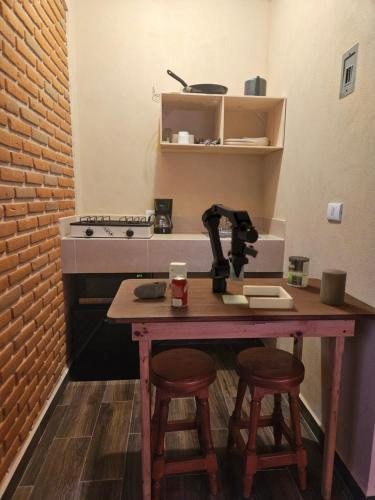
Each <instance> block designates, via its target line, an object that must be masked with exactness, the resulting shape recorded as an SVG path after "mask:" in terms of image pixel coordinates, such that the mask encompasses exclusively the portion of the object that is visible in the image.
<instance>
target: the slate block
mask: <svg viewBox="0 0 375 500" xmlns="http://www.w3.org/2000/svg"><path fill="white" fill-rule="evenodd" d="M229 264H230V276H229V279H230V281H231V282H244V276H245V275H244V274H245V273H244V272H245V265H244V266H242V269H241V272H240V276H239V278H236V275H235V272H234V269H233V266H232V263H230V262H229Z"/></svg>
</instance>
